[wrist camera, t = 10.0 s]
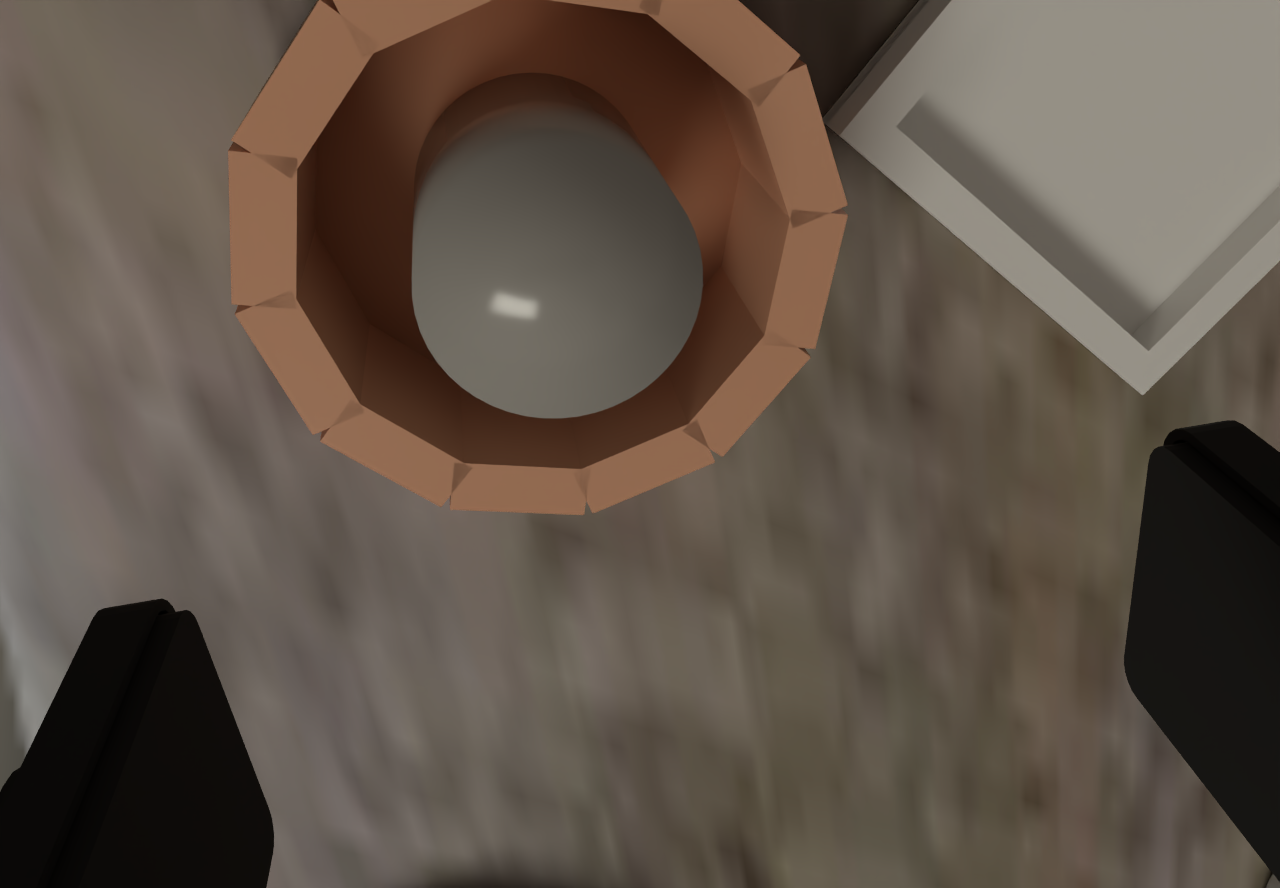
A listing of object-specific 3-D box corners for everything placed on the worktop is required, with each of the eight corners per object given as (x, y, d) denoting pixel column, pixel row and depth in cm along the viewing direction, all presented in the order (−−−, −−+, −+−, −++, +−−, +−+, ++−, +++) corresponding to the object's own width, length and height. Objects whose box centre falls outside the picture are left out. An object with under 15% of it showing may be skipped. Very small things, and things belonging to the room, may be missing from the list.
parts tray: (1467, 21, 24) (1513, 30, 23) (1115, 372, 27) (1142, 395, 26) (1202, -346, 20) (1245, -354, 19) (821, 120, 23) (839, 135, 22)
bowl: (871, 130, 23) (956, 192, 19) (577, 481, 26) (601, 594, 22) (461, -229, 19) (468, -238, 15) (166, 239, 22) (112, 328, 18)
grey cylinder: (694, 168, 22) (760, 257, 18) (556, 342, 23) (587, 464, 19) (506, 20, 20) (529, 79, 16) (366, 218, 21) (353, 323, 17)
